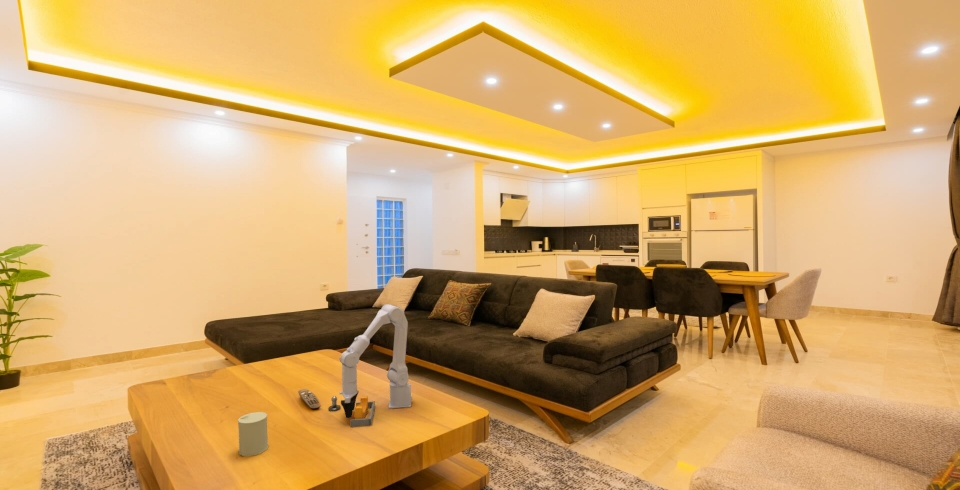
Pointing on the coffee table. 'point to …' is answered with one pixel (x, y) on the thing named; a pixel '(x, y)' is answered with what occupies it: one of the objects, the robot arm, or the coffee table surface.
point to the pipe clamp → (361, 408)
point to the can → (253, 434)
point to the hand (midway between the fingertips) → (350, 413)
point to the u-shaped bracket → (367, 420)
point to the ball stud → (334, 405)
